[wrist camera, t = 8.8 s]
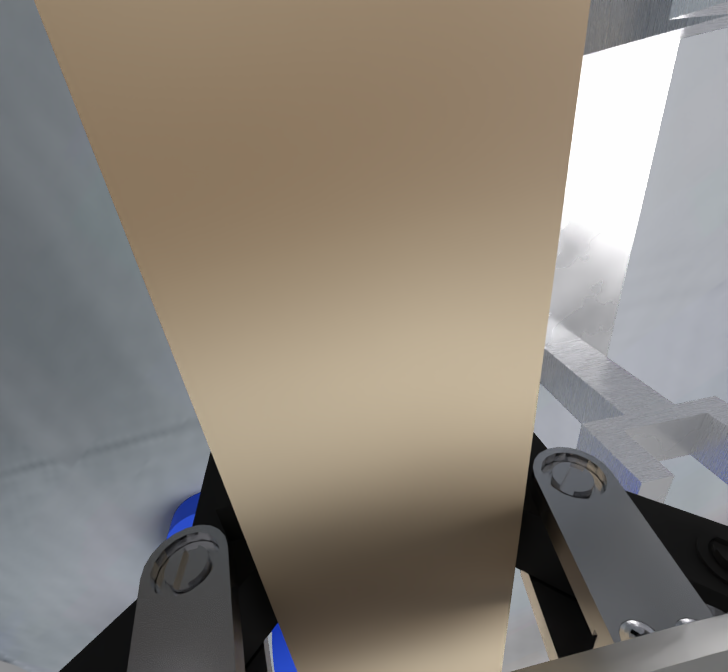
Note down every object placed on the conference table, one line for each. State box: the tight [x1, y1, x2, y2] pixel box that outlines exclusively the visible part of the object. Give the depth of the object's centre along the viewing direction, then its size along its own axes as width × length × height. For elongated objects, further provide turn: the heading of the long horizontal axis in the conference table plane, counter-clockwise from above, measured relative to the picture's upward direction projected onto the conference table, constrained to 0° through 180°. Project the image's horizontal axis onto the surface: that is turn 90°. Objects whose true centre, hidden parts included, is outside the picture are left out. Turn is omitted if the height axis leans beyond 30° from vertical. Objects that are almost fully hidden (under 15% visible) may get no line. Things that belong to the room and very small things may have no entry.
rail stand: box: [540, 0, 728, 503], centre depth 19 cm, size 23×8×13 cm, turn 6°
